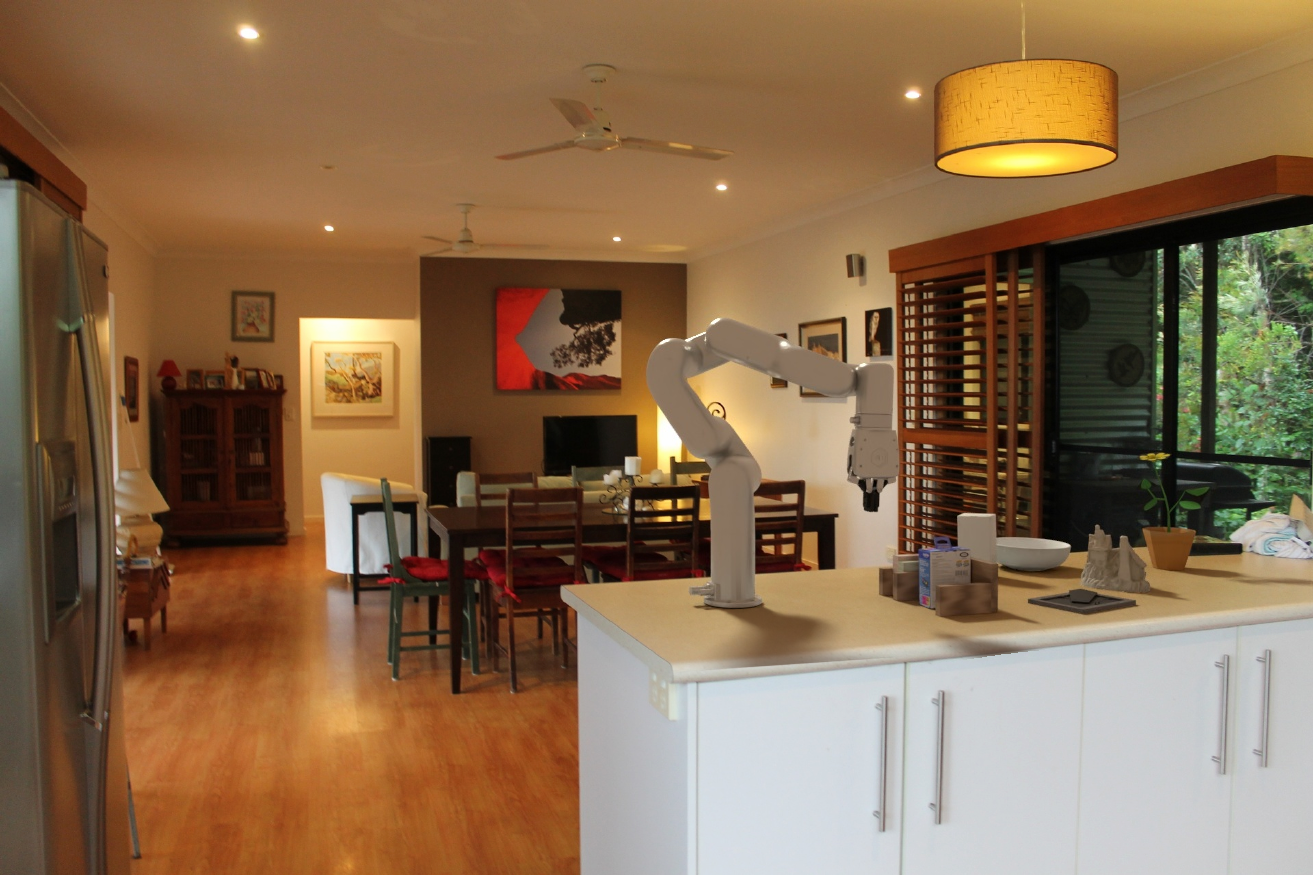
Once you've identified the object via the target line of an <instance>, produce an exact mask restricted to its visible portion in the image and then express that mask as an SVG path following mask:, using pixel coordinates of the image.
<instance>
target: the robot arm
mask: <svg viewBox="0 0 1313 875" xmlns="http://www.w3.org/2000/svg"><path fill="white" fill-rule="evenodd" d="M729 362H732V363H735V364H738V365H741V366H743V367H745V368H749V369H750V370H753V371H756V372H759V373H761V374H764V375H766V376H769V377H772V378H776V379H781V380H783V381H787V382H790V383H792V384H795V385H797V386H799V387H803V388H804V389H808V390H811V391H812V392H816V393H818V394H820V395H823V396H827V397H830V398H834V399H835V398H836V399H839V398H840V399H841V398H849V397H855V412H854V416H851V417H850V418H849V423H850V424H853V426H854V428H852V430H851V432H850V433H851V434H850V437H849V441H848V442H849V443H848V449H847V458H846V472H847V474H848V475H847V479H846V481H847V482H848V483H851V484H854V485H857V487H858V488H859V489H860V491H861V492H863V493H862V507H863V511H864V512H868V513H878V512H879V507H880V493H882V492H883V490H884V489H885V487H886V486H887V485H891V484H895V483H896V481H897V477H898V476H899V474H900V449H899V447H900V446H899V440H898V434H897V430H894V429H893V417H894V416H893V410H894V385H895V384H894V383H895V382H894V381H895V380H894V379H895V370H894V366H893V365H891V364H889V363H886V362H885V363H884V362H865V363H861V364H855V363H847V362H844V361H841V360H839V359H835V358H832V357H830V356H827V355H824V354H821V353H818V352H817V351H813V350H810V349H808V348H805V347H803V346H799V345H797V344H795V343H793V342H792V341H790V340H789V339H787V338H784V337H782V336H779V335H777V334H774V333H771V332H768V331H766V330H763V329H760V328H757V327H754V326H752V325H749V324H746V323H744V322H741V321H738V320H736V319H733V318H729V317H720V318H719V317H718V318H716V319H715V320H713V321H711V322H710V324H709V325H708V326H707V328H706V331H705V332H702V333H700V334H697V335H696V336H692V337H690V338H688V339H681V338H675V337H674V338H673V337H671V338H666V339H664V340H662V341H660V342H659V343H658V344H657V345H656V346H655V347H654V348H653V350H652V352H651V353H650V355H649V357H648V361H647V364H646V371H645V374H646V375H645V378H646V383H647V388H648V390H649V393H650V394H651V396H652V398H653V400H654V402H655V403H656V405H657V407H658V408H659V410H660V411H661V413H662V414H663V416H664V417H665V418H666V420H667V421H668V423H669V424H670V426H671V428H672V429H673V430H674V431H675V434H677V436H678V438H679V439H680V440H681V442H682V443H683V445H684V447H685V449H686V450H687V451H688V452H689V454H691V456H692V457H694V458H697V459H699V460H704V461H705V462H706V464H707V465H708V466H709V468H710V469H711V470H710V472H709V477H708V495H709V496H708V497H709V498H708V499H709V508H710V580H706V584H704V583H703V585H700V586H699V585H691V586H689V588H688V592H689V595H690V596H699V597H702V596H703V603H704V604H706V605H708V606H712V607H718V608H727V609H728V608H730V609H731V608H732V609H740V608H741V609H742V608H752V607H756V606H759V605H761V604H762V603H763V597H762V596H760V595H758V594H756V517H755V516H756V515H755V514H756V513H755V499H754V498H755V497H754V493H755V492H756V491H758V489H759V487H760V485H761V483H762V478H763V476H762V474H763V473H762V468H761V466H760V464H759V462H758V461H757V459H756V458H755V457H754V455H753V453H751V451H750V450H749V449H748V447H747V446H746V444H745V442H743V440H742V438H741V437H740V435H739V434H738V433H737V432H736V430H735V429H734V428H733V426H732V425H731V424H730V422H728V421H727V420H726V419H724V418H723V417H720V416H717V415H713V414H712V413H711V412H710V410H709V408H708V407H707V406H706V405H705V404H704V402H703V401H702V399H701V398H700V396H699V395H698V393H697V392H696V391H695V390H694V388H692V386H691V385H690V384H689V382H688V380H687V379H690V378H693V377H697V376H699V375H701V374H705V373H707V372H709V371H710V370H714V369H716V368H718V367H720V366H722V365H725V364H728V363H729Z"/></svg>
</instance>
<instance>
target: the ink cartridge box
mask: <svg viewBox="0 0 1313 875" xmlns="http://www.w3.org/2000/svg"><path fill="white" fill-rule="evenodd" d="M939 541H945V542H946V543H943V542H942V543H938V542H939ZM933 542H934V546H935V547H928V548H929V549H926V548H919V549H918V554H919V594H920V599H919V605H920V606H922V607H925V608H927V609H936V585H951V584H967V583H971V550H970V549H966V548H962V547H958V546H952V544H951V540H950V538H949V536H938V537H937V536H934V537H933Z"/></svg>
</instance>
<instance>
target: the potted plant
mask: <svg viewBox="0 0 1313 875" xmlns="http://www.w3.org/2000/svg"><path fill="white" fill-rule="evenodd" d="M1170 456H1172V453H1169V452H1168V453H1167V452H1161V451H1156V452H1155V451H1154V452H1148V453H1142V454H1141V453H1140V454H1139V455H1138V456H1137V457H1136V458H1135V459H1136V460H1142V461H1150V462H1152V463H1154V465H1153V466H1154V469H1155V474H1156V477H1157V480H1158V483H1159V485H1158V484H1156V483H1154V482H1153V481H1152V480H1149V479H1147V478H1145V477H1144V478H1143V479H1142V480H1141V481H1140V483H1138V486H1137V487H1136V488H1135V491H1142V490H1147V491H1148V492H1149V493H1150V495H1151V496H1152V498H1153V499H1150V500H1148V501H1147V502H1144V503H1142V504H1140V505H1138V506H1137V508H1139V509H1140V510H1142V511H1145V512H1147V511H1149V510H1150V509H1152V508H1154V507H1157V506H1158V505H1161V504H1163V503H1164V501H1165V505H1166V506H1165V507H1166V511H1167V526H1147V527H1143V528H1142V532H1143V535H1144V539H1145V543H1146V547H1147V551H1148V555H1149V558H1150V560H1151V564H1152V568H1154V567H1155V568H1154V569H1157V570H1163V569H1165V570H1164V571H1183V570H1185V568H1186V565H1187V562H1188V559H1189V556H1190V552H1191V549H1192V546H1193V543H1194V541H1195V540H1194V539H1195V536H1196V533H1197V531H1196V530H1195V529H1190V528H1183V527H1171V515H1170V514H1171V512H1172V511H1173V510H1174V509H1175V507H1177V505H1178V511H1179V512H1178V513H1179V514H1181V513H1184V512H1189V511H1194V510H1199V509H1202V503H1203V501H1204V499H1205V498H1206V496H1207V494H1208V492H1209V490H1210V488H1211V486H1206V487H1195V488H1188V489H1185V490H1183V493H1182V495H1181V496H1180V498H1179V499H1178V501H1177V502H1176V503H1175V504H1174V505H1173V507H1171V508H1169V503H1168V499H1167V495H1166V493H1165V490H1164V487H1163V485H1162V484H1163V483H1162V482H1161V479H1160V477H1159V473H1158V469H1157V465H1156V462H1158V461H1159V460H1165V459H1168V458H1169V457H1170ZM1158 487H1160V488H1161V491H1162V494H1163V498H1162V497H1161V498H1160V497H1156V496H1155V495H1154V493H1152V491H1151V490H1150V489H1154V488H1158ZM1185 493H1187V494H1189V495H1190V496H1191V497H1193V498H1188V499H1183V500H1181V499H1182V498H1183V497H1184V495H1185Z"/></svg>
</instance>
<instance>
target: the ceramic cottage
mask: <svg viewBox="0 0 1313 875" xmlns="http://www.w3.org/2000/svg"><path fill="white" fill-rule="evenodd" d="M1094 527H1095V528H1094V529H1095V530H1094V534H1091V533H1089V534H1088V537H1089V538H1088V544H1087V545H1088V547H1087V555H1086V558H1087V559H1086V563H1085V564H1084V568H1083V571H1082V572H1081V575H1080V583H1081V584H1080V585H1081V586H1082V585H1084V586H1083V587H1086V588H1090V587H1092V588H1091V589H1095V588H1096V589H1097V590H1103V589H1105V590H1104V591H1112V592H1114V591H1115V592H1122V591H1124V592H1123V593H1133V592H1138V593H1139V592H1142V593H1148V592H1150V591H1151V583H1150V581H1149V580H1146V576H1147V572H1146V570H1145V568H1147V566H1148V564H1147V563H1146V562H1145V561H1144V560H1143V559H1142V558H1141V557H1140V556H1139V555H1138V553H1136V551H1135V549H1133V547H1132V546H1131V544H1130V542H1129V538H1128V536H1126V535H1121V536H1119V547H1117V548H1113V541H1112V537H1111V534H1105V532H1104V530H1103V529H1101V526H1100V525H1099V524H1096V525H1095V526H1094Z"/></svg>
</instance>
